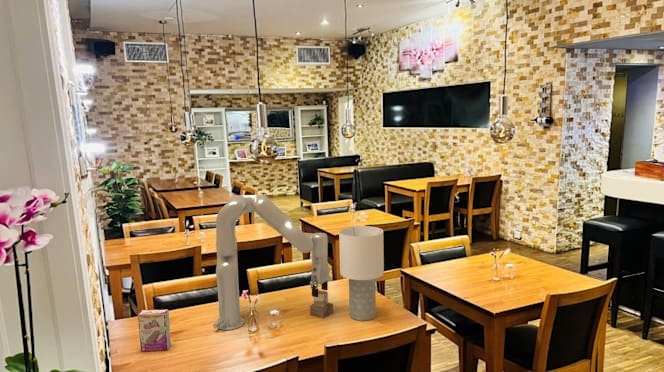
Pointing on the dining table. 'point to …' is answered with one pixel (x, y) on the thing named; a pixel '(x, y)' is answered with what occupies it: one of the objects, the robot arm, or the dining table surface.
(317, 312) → the walnut base
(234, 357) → the dining table surface
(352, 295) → the lamp
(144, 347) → the candy bar box
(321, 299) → the oak block
